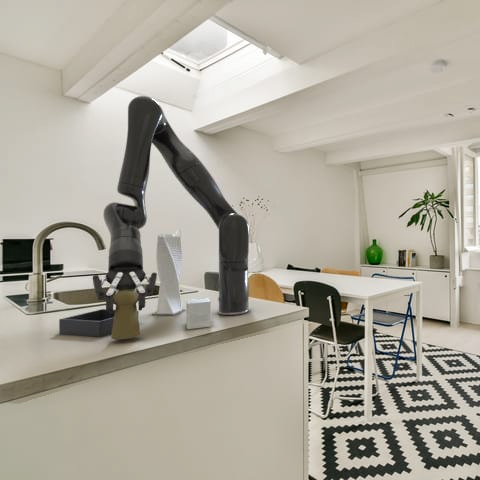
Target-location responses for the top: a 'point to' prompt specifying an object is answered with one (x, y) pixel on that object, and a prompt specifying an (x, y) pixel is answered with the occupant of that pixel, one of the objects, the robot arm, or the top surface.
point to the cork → (125, 315)
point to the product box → (198, 313)
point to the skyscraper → (169, 273)
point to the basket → (88, 324)
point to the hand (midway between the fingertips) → (126, 309)
